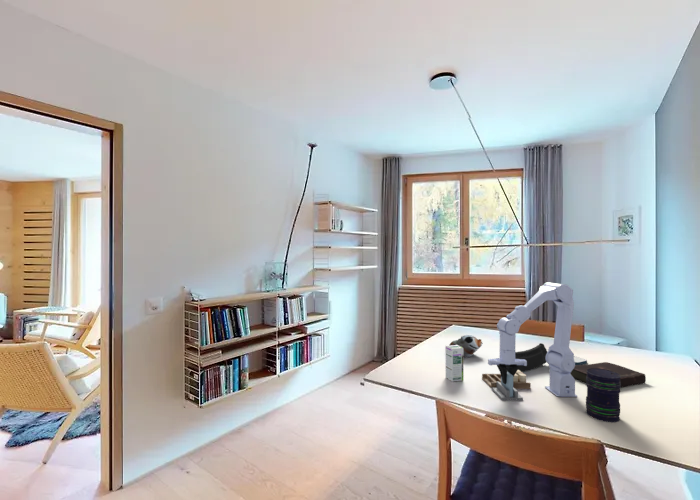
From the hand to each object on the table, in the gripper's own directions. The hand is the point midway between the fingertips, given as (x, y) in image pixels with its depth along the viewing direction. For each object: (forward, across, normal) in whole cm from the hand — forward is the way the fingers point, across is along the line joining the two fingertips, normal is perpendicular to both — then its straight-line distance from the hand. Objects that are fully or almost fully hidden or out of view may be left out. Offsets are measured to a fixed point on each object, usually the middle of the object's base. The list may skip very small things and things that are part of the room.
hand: (506, 383), depth 144 cm
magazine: (+5, -23, -31) cm, 38 cm away
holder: (+5, 0, 0) cm, 5 cm away
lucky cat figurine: (+5, 0, -54) cm, 54 cm away
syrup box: (+5, +16, -17) cm, 24 cm away
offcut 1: (+4, -7, -12) cm, 14 cm away
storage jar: (+5, -26, +17) cm, 31 cm away
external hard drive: (+5, -49, -49) cm, 69 cm away
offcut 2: (+4, -10, -12) cm, 16 cm away
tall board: (+4, 0, 0) cm, 4 cm away
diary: (+5, -51, -18) cm, 54 cm away
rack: (+5, -4, -12) cm, 14 cm away
